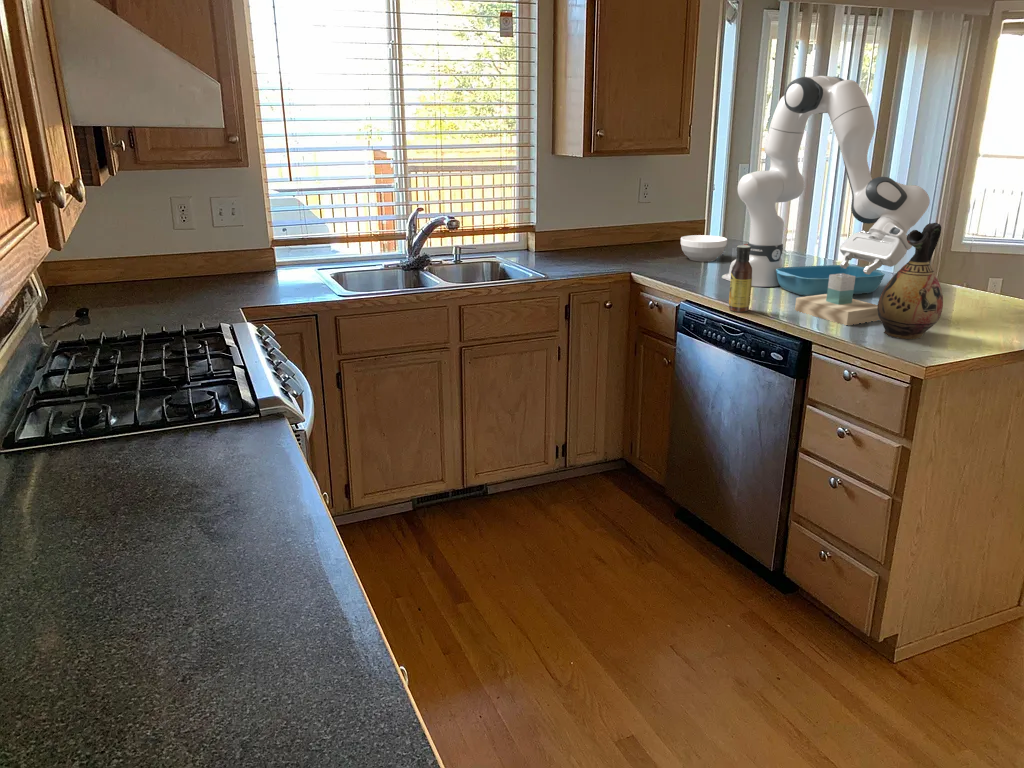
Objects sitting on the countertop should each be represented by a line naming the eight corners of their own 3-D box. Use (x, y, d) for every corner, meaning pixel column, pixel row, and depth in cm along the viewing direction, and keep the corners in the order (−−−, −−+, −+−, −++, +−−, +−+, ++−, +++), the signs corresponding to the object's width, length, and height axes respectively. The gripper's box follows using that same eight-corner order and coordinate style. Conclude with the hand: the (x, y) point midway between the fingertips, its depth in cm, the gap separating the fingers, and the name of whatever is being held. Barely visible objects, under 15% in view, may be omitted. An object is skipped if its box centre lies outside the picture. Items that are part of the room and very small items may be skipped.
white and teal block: (826, 301, 225) (829, 274, 223) (839, 299, 227) (842, 273, 224) (838, 304, 221) (842, 277, 218) (851, 303, 223) (855, 276, 220)
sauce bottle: (733, 306, 237) (738, 243, 230) (752, 309, 233) (758, 245, 226) (724, 310, 232) (729, 246, 225) (743, 313, 228) (749, 248, 221)
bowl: (671, 257, 322) (672, 236, 319) (709, 254, 328) (711, 234, 325) (694, 264, 305) (695, 243, 302) (734, 261, 311) (736, 240, 308)
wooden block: (794, 310, 231) (796, 297, 230) (828, 305, 237) (830, 293, 235) (846, 325, 214) (848, 312, 213) (882, 320, 219) (884, 306, 218)
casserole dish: (852, 281, 272) (855, 261, 270) (896, 294, 252) (899, 273, 249) (760, 287, 264) (762, 267, 262) (798, 301, 244) (800, 279, 241)
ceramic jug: (918, 346, 194) (939, 229, 184) (862, 333, 206) (879, 222, 196) (951, 335, 203) (972, 223, 194) (895, 324, 215) (912, 217, 205)
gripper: (854, 222, 230) (824, 257, 230) (907, 232, 212) (874, 269, 212) (863, 236, 233) (833, 270, 233) (917, 246, 214) (884, 283, 215)
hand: (853, 269), depth 222 cm, fingers open, 8 cm apart
